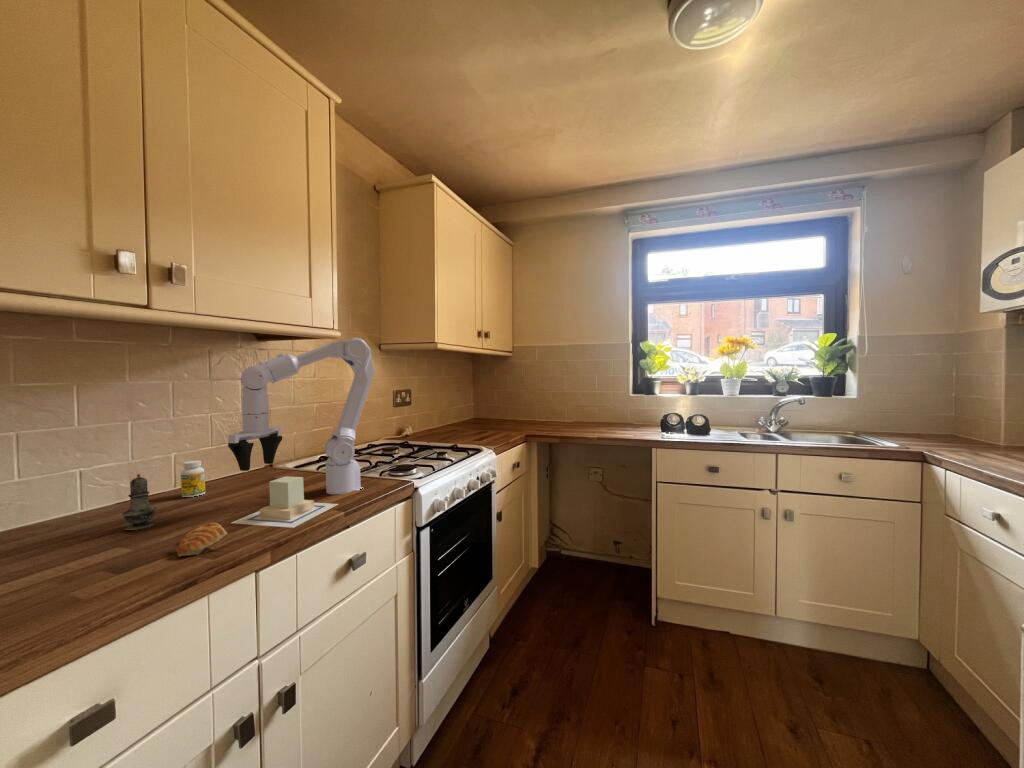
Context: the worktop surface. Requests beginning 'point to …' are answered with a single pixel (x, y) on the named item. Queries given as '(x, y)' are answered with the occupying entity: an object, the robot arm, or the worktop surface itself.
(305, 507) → the maple plinth
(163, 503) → the worktop surface
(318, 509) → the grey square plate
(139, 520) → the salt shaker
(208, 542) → the pastry
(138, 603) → the worktop surface
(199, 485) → the supplement bottle
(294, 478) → the sage block
